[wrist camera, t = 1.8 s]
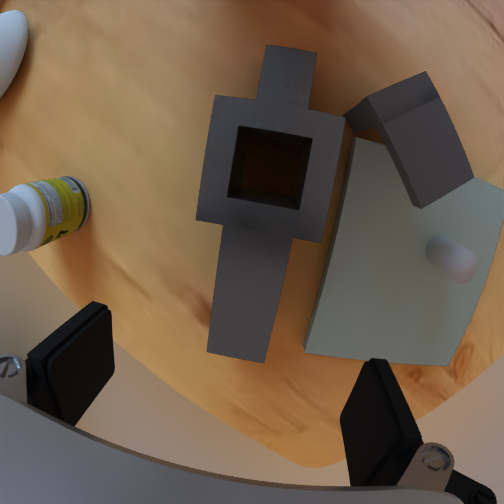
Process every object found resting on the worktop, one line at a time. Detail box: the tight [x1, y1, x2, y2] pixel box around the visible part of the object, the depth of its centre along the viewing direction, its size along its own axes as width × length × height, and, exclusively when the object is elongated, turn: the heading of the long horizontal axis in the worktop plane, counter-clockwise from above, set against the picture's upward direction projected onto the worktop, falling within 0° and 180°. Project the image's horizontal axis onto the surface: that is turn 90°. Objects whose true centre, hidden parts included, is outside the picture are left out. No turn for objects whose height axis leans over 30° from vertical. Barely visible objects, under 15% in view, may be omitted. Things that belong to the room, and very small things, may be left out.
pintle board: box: [303, 71, 504, 366], centre depth 18 cm, size 20×15×6 cm
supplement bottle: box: [0, 176, 90, 256], centre depth 18 cm, size 5×5×8 cm
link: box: [196, 45, 346, 363], centre depth 18 cm, size 18×6×6 cm, turn 170°
